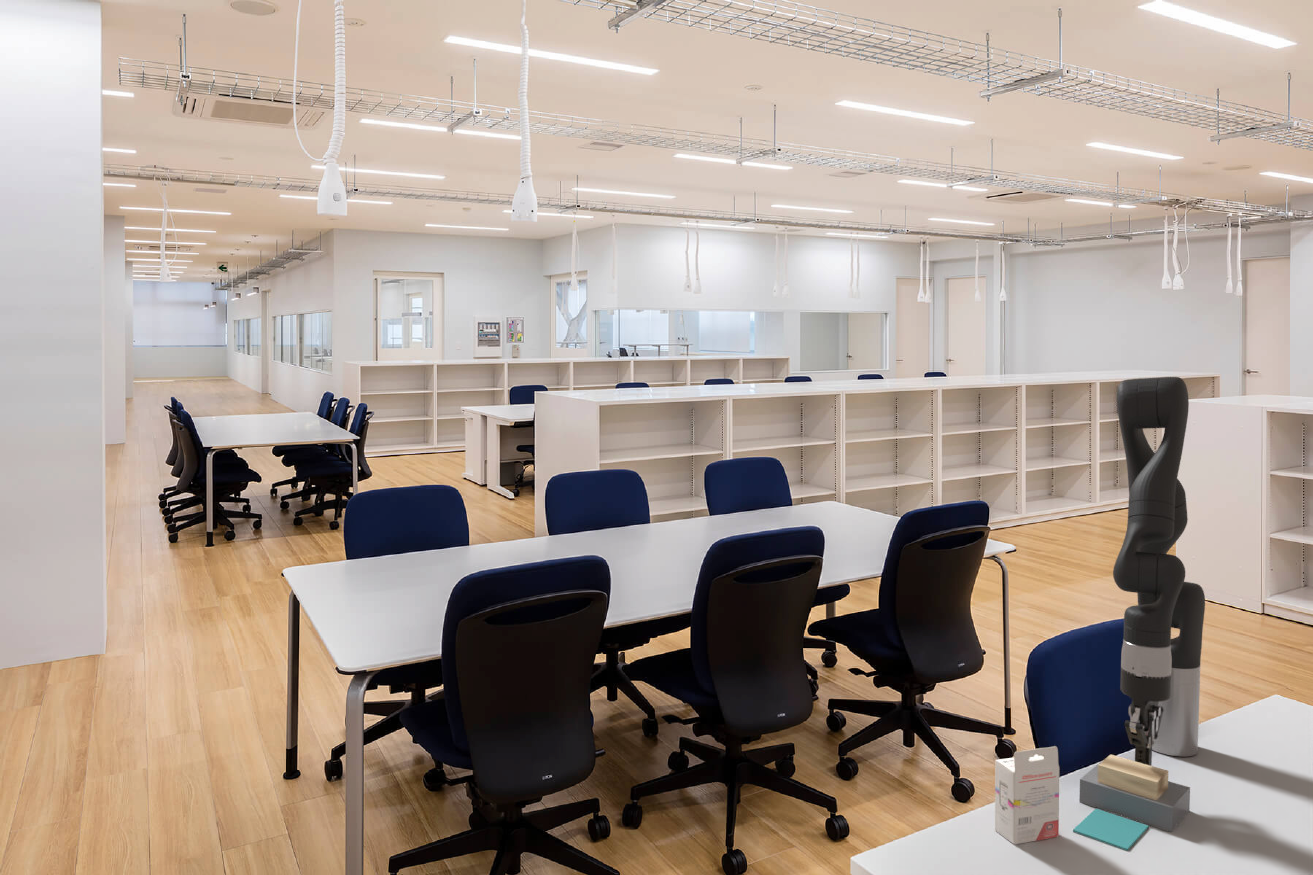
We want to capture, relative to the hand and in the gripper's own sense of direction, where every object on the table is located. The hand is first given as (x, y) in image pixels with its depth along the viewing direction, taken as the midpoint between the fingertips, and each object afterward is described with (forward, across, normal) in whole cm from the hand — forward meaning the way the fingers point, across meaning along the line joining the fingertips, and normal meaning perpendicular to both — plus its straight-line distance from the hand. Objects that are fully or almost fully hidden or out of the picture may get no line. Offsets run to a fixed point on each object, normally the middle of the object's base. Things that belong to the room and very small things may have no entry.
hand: (1142, 766), depth 148 cm
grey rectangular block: (+6, +4, 0) cm, 7 cm away
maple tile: (0, +5, 0) cm, 5 cm away
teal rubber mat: (+6, +15, 0) cm, 16 cm away
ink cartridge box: (+6, +26, -9) cm, 28 cm away
